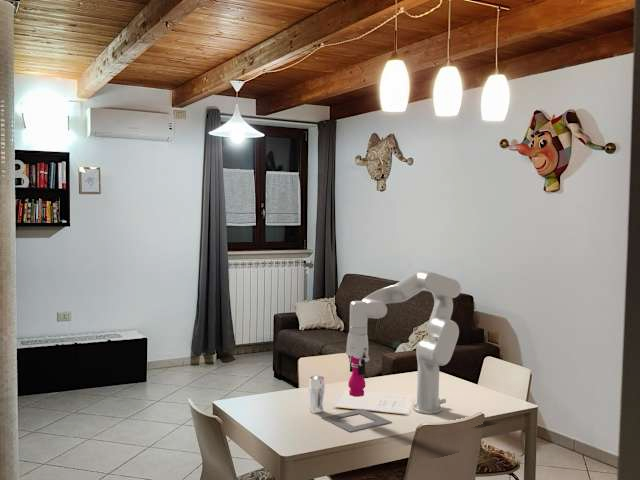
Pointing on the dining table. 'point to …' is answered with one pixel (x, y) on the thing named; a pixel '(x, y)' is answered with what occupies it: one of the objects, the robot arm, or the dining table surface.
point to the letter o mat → (336, 421)
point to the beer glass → (316, 393)
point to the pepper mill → (356, 380)
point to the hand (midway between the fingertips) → (357, 372)
